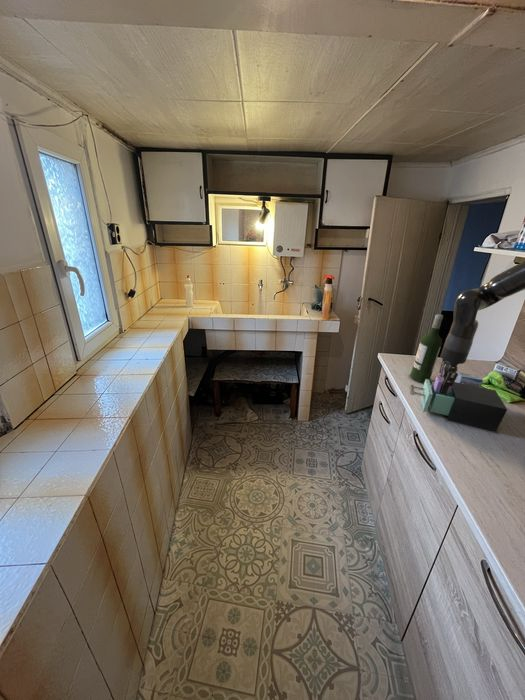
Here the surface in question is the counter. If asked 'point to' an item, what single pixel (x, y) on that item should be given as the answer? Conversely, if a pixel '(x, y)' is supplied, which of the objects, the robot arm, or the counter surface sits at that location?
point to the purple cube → (438, 385)
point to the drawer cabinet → (476, 407)
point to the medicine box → (469, 379)
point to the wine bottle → (427, 353)
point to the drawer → (434, 399)
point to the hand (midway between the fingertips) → (441, 389)
